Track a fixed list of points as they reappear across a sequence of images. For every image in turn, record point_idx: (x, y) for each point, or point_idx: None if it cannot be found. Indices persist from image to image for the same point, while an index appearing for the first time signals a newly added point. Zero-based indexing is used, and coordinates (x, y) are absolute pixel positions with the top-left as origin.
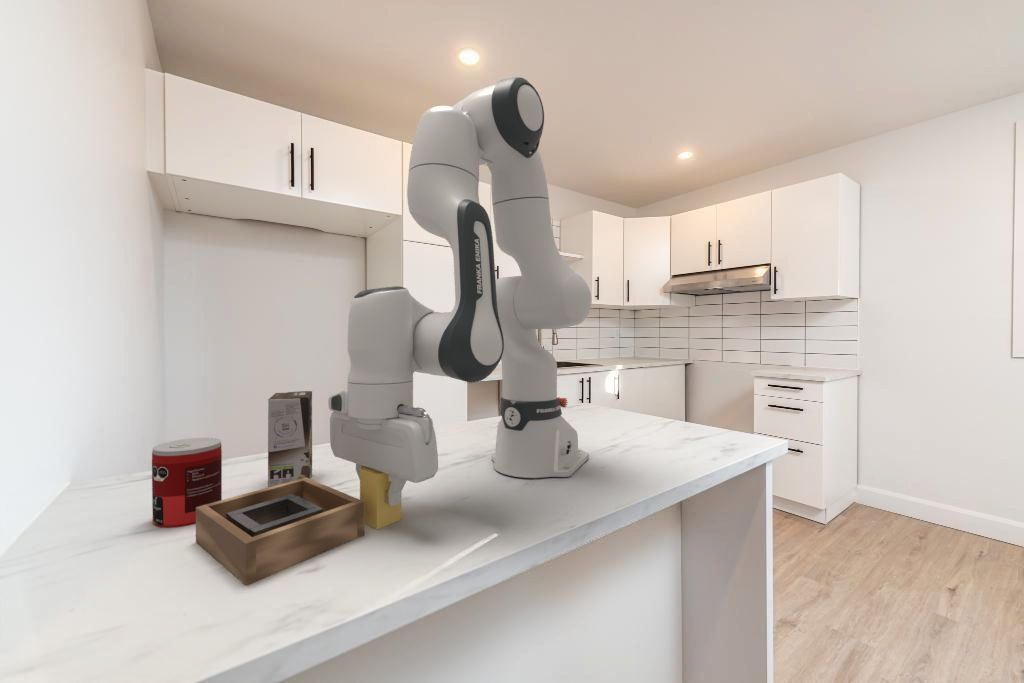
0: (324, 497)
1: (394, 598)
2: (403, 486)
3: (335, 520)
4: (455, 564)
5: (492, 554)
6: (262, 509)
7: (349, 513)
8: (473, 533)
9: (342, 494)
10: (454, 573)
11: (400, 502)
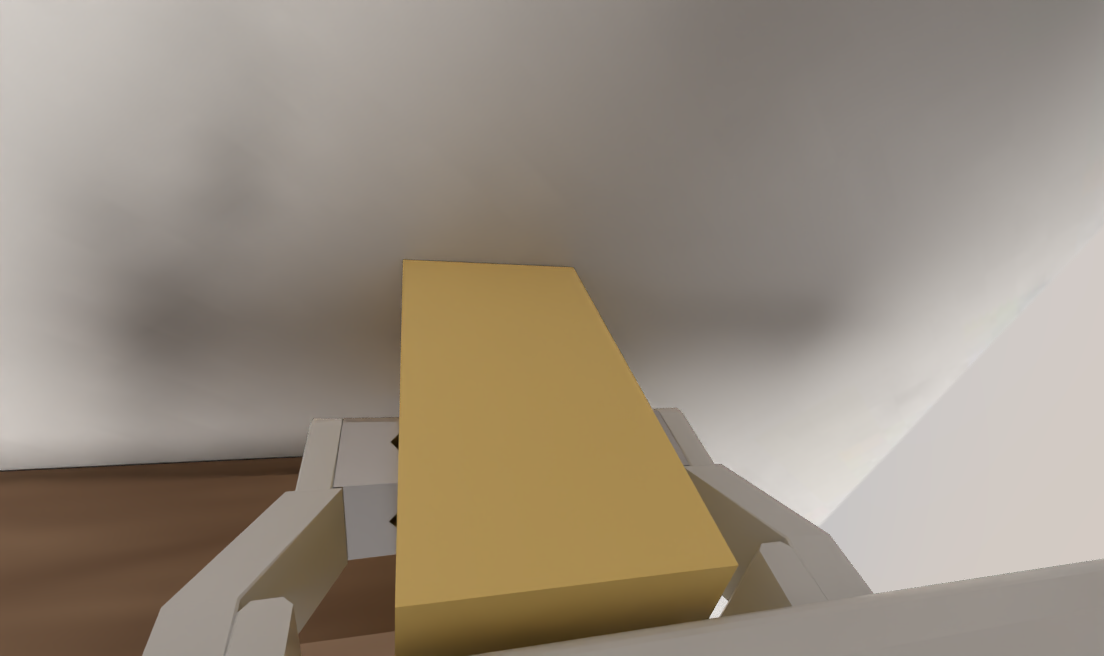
0: None
1: (823, 520)
2: (753, 488)
3: None
4: (937, 361)
5: (1063, 246)
6: None
7: None
8: (979, 140)
9: (375, 643)
10: (942, 392)
11: (608, 341)
